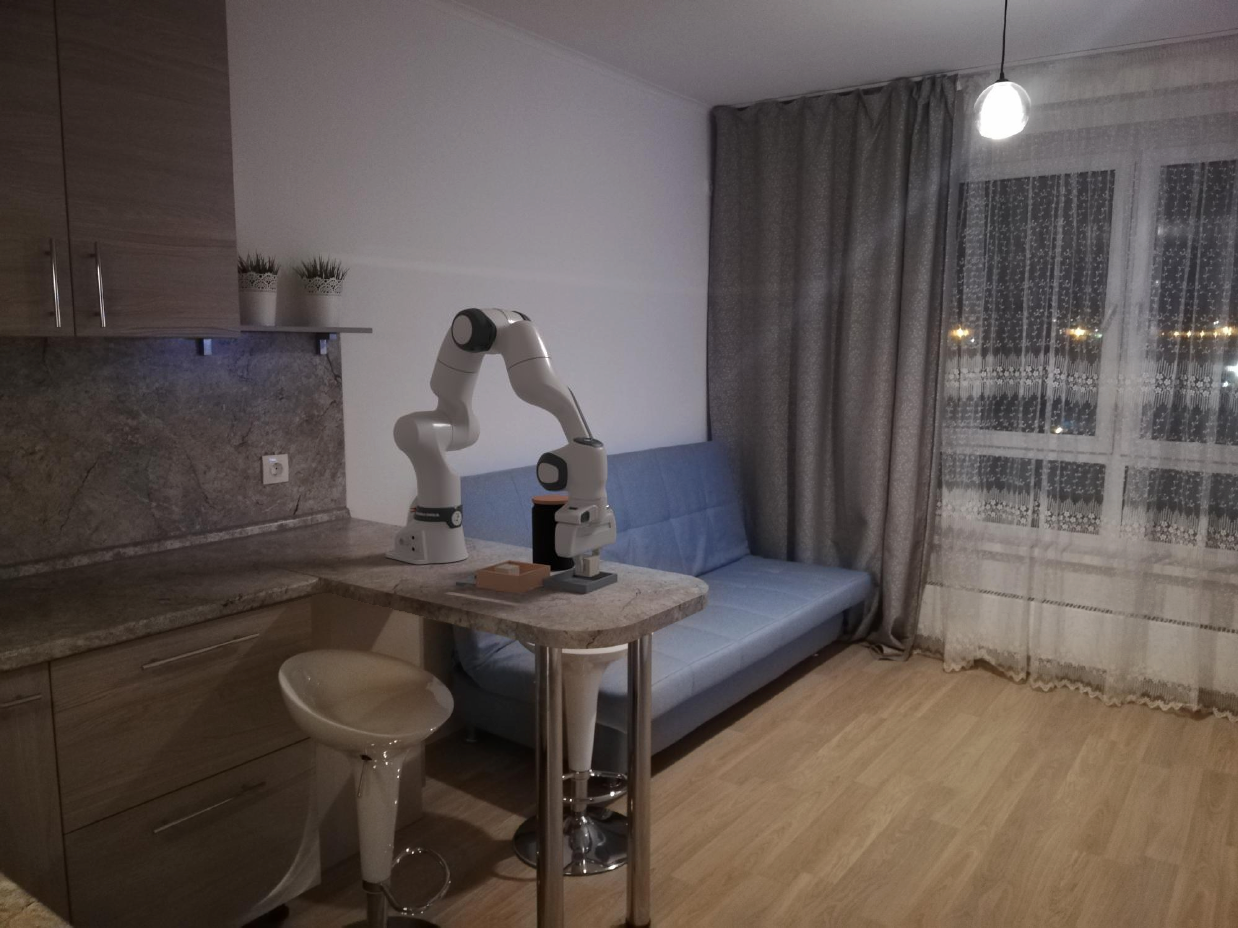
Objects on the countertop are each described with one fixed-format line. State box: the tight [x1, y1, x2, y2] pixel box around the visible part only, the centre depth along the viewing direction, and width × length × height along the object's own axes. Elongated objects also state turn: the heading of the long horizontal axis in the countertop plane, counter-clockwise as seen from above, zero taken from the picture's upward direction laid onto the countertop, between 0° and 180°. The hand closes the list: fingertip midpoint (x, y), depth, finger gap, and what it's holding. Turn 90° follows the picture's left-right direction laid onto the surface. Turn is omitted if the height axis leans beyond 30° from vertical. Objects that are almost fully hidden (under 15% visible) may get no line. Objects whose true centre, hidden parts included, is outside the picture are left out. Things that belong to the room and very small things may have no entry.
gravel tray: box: [541, 567, 618, 595], centre depth 211 cm, size 12×13×2 cm
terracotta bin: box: [475, 559, 551, 595], centre depth 211 cm, size 12×12×4 cm
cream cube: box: [495, 564, 519, 575], centre depth 212 cm, size 4×4×4 cm
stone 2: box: [575, 553, 600, 577], centre depth 210 cm, size 4×4×4 cm
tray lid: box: [455, 573, 477, 587], centre depth 216 cm, size 7×10×2 cm
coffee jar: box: [531, 494, 575, 572], centre depth 229 cm, size 11×11×18 cm
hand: (587, 569), depth 210 cm, fingers closed on stone 2, 4 cm apart
